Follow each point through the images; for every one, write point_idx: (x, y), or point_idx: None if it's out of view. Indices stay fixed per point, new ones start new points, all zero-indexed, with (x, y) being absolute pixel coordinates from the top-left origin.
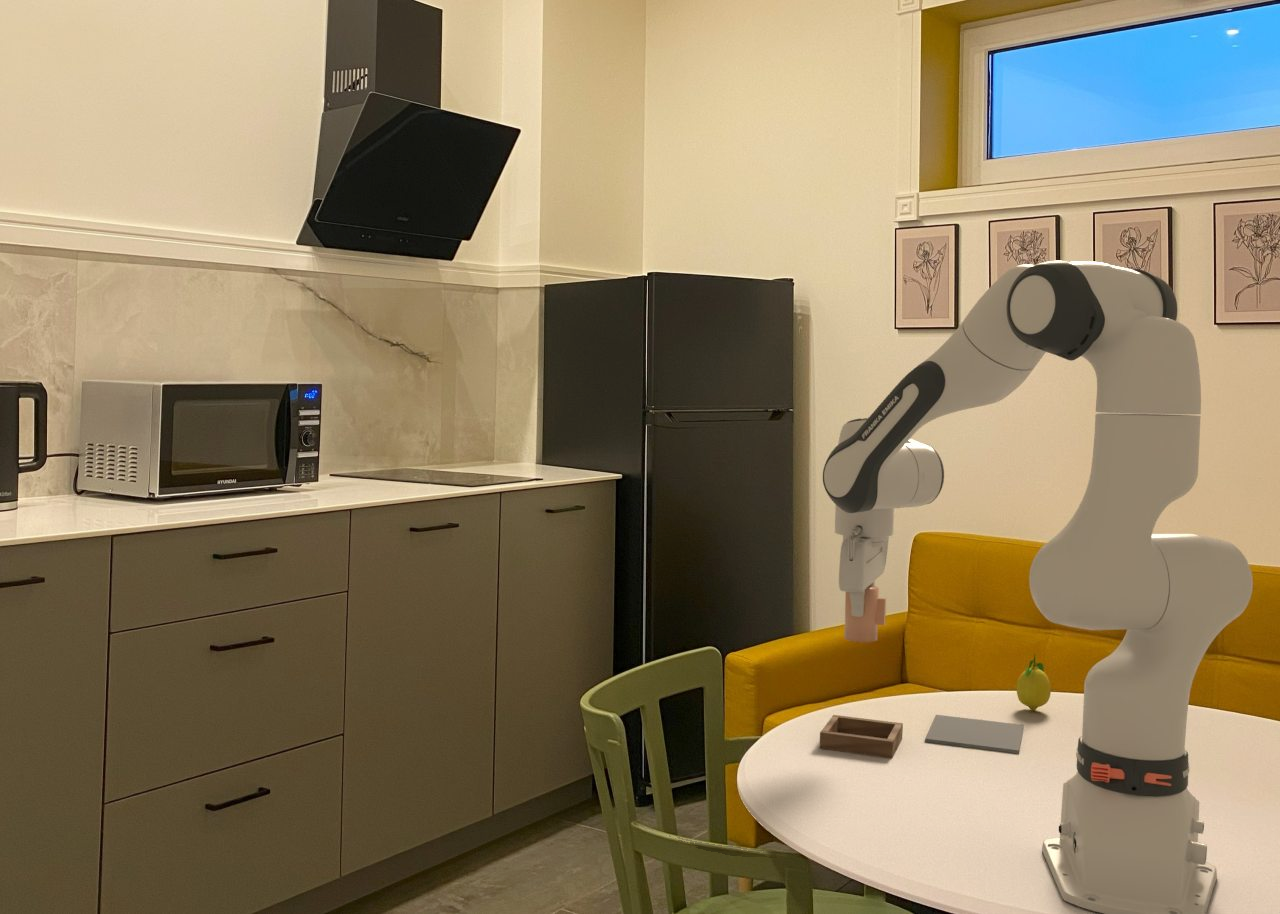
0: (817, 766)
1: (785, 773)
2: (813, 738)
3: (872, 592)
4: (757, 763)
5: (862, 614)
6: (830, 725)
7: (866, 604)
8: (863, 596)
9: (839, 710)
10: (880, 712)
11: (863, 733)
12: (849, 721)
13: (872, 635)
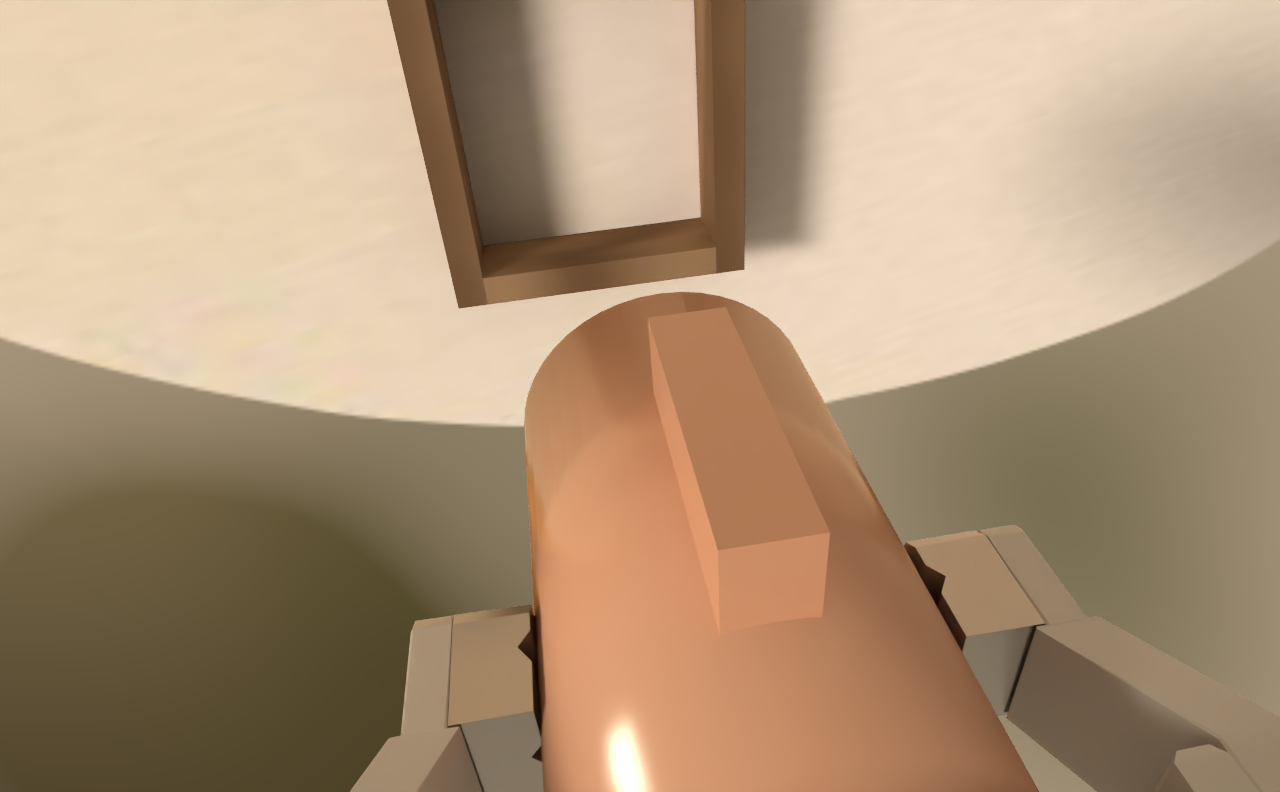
0: (939, 174)
1: (1041, 245)
2: (612, 301)
3: (987, 735)
4: (963, 353)
5: (1024, 534)
6: (625, 266)
7: (943, 619)
8: (1242, 714)
9: (151, 347)
10: (6, 178)
11: (459, 138)
12: (472, 223)
13: (765, 338)
